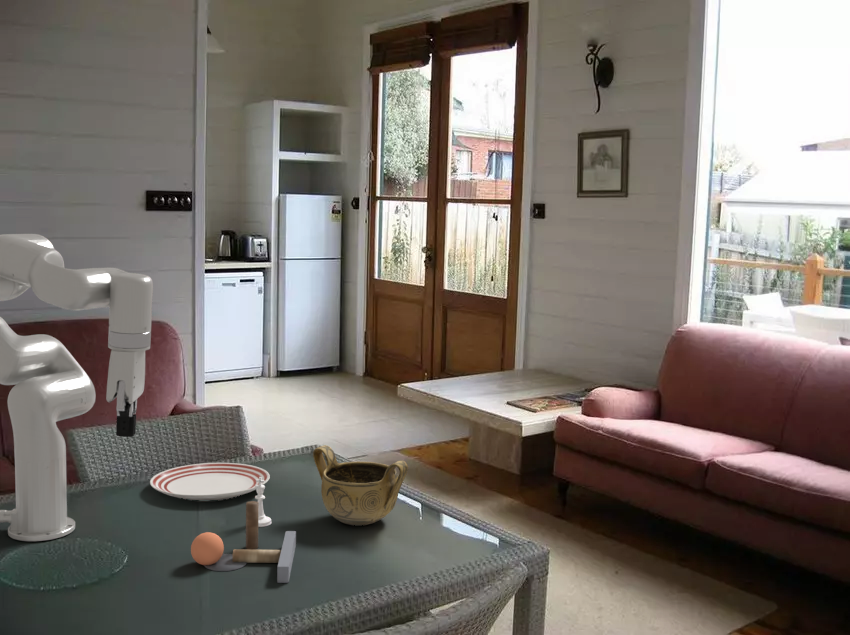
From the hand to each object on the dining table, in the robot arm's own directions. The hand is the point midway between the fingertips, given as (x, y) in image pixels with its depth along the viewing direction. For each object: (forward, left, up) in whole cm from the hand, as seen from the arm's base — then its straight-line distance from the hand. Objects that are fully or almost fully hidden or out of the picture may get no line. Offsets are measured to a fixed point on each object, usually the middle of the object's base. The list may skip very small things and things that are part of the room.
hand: (125, 435), depth 175 cm
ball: (+16, -5, -20) cm, 26 cm away
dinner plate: (+9, +40, -24) cm, 48 cm away
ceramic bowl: (+44, +19, -23) cm, 54 cm away
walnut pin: (+23, +3, -23) cm, 33 cm away
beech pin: (+21, -4, -22) cm, 30 cm away
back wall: (+31, -5, -23) cm, 39 cm away
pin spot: (+19, -5, -23) cm, 31 cm away
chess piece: (+23, +17, -23) cm, 37 cm away
